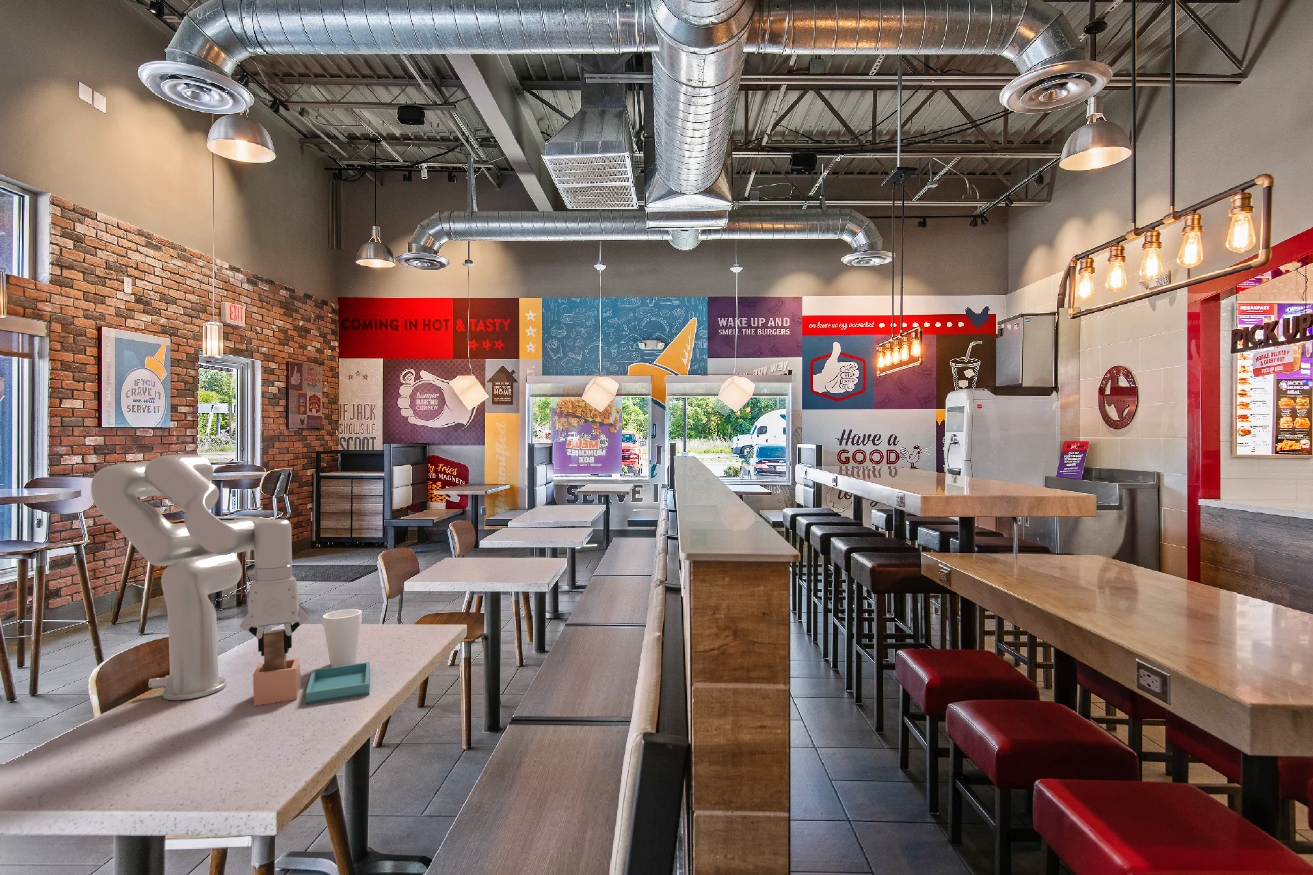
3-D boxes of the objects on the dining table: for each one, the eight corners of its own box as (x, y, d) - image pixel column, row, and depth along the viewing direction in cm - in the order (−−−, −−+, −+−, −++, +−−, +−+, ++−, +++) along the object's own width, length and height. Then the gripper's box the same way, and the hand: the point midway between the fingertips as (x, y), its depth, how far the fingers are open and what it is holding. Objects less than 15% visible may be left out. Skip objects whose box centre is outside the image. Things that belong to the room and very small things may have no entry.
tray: (306, 704, 154) (305, 693, 154) (312, 679, 170) (312, 669, 170) (369, 694, 159) (368, 683, 159) (370, 671, 174) (369, 661, 174)
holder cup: (253, 705, 154) (252, 674, 154) (260, 692, 162) (259, 663, 162) (296, 699, 157) (295, 668, 157) (300, 686, 165) (299, 657, 165)
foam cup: (353, 668, 177) (351, 618, 177) (317, 669, 177) (315, 618, 177) (369, 656, 186) (367, 608, 186) (335, 657, 187) (333, 609, 187)
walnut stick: (264, 688, 157) (263, 635, 157) (267, 682, 161) (266, 630, 160) (284, 685, 158) (283, 633, 158) (286, 679, 162) (285, 628, 162)
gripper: (228, 580, 153) (230, 662, 153) (312, 573, 159) (314, 652, 159) (235, 573, 160) (236, 652, 160) (315, 567, 166) (317, 643, 166)
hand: (275, 652), depth 159 cm, fingers closed on walnut stick, 4 cm apart
